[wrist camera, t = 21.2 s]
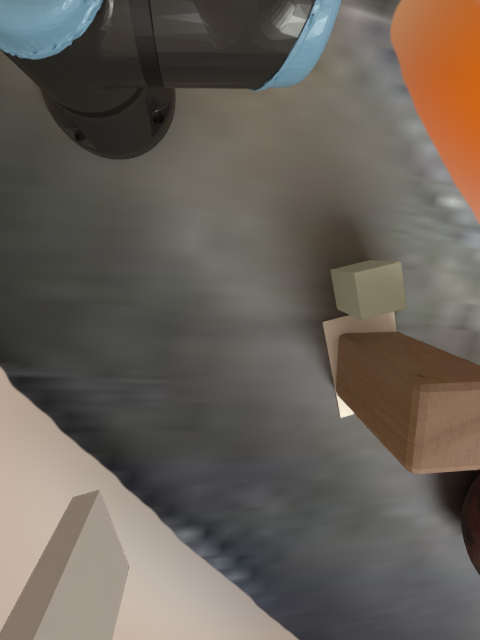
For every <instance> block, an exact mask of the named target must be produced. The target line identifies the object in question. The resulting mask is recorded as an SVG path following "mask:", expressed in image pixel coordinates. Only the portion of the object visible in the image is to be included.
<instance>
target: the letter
mask: <svg viewBox="0 0 480 640" xmlns="http://www.w3.org/2000/svg"><path fill="white" fill-rule="evenodd" d="M322 323H323V328H324V333H325V339H326V344H327V350H328V355H329V360H330V366H331V371H332V376H333V382H334V387H335V392H336V378H337V360H338V342H339V337H340V335H342V334H345V333H369V332H397V330H396V322H395V315H394V312H391V313H387V314H383V315H379V316H375V317H371V318H367V319H363V320H361V319H358V318H356V317H354V316H351V315H347V316H343V317H339V318H335V319H331V320H328V321H324V322H322ZM336 398H337V403H338V409H339V414H340V417H345V416H349V415H352V414H354V412H353V411H352V410H351V409H350V408H349V407H348V406H347V405H346V404H345V403H344V402H343V401H342V399H341V398H340V397H339V396H338V395H337V393H336Z"/></svg>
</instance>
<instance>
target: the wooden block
mask: <svg viewBox="0 0 480 640" xmlns="http://www.w3.org/2000/svg"><path fill="white" fill-rule="evenodd" d="M336 393H337V395H338V396H339V397H340V398H341V399H342V401H343V402H344V403H345V404H346V405H347V406H348V407H349V408H350V409H351V410H352V411H353V412H354V414H355V415H356V416H357V417H358V418H359V419H360V420H361V421H362V422H363V423H364V424H365V425H366V426H367V428H368V429H369V430H370V431H371V432H372V433H373V434H374V435H375V436H376V437H377V438H378V439H379V440H380V442H381V443H382V444H383V445H384V446H385V447H386V448H387V449H388V450H389V451H390V452H391V453H392V454H393V456H394V457H395V458H396V459H397V460H398V461H399V462H400V463H401V464H402V465H403V466H404V467H405V469H406V470H408V471H410V472H412V473H415V474H427V473H440V472H453V471H466V470H479V469H480V366H479V365H477V364H474V363H472V362H469V361H467V360H464V359H462V358H460V357H457V356H455V355H452V354H450V353H448V352H445V351H443V350H440V349H438V348H435V347H433V346H431V345H428V344H426V343H423V342H421V341H419V340H416V339H414V338H411V337H409V336H406V335H404V334H402V333H399V332H369V333H345V334H342V335H340V337H339V342H338V360H337V378H336Z"/></svg>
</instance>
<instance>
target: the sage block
mask: <svg viewBox="0 0 480 640" xmlns="http://www.w3.org/2000/svg"><path fill="white" fill-rule="evenodd" d="M330 271H331V277H332V282H333V288H334V294H335V300H336V305H337V309H338V310H340V311H342V312H344V313H347V314H349V315H351V316H354V317H356V318H358V319H361V320H363V319H367V318H371V317H375V316H379V315H383V314H387V313H391V312H394V311H398V310H402V309H406V308H407V307H406V299H405V291H404V283H403V275H402V268H401V262H400V261H379V260H368V261H364V262H360V263H356V264H352V265H348V266H344V267H340V268H336V269H332V270H330Z"/></svg>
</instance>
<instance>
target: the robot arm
mask: <svg viewBox="0 0 480 640" xmlns="http://www.w3.org/2000/svg"><path fill="white" fill-rule="evenodd" d="M340 4H341V0H0V50H1V51H2V52H3V53H4V54H5V55H7V56H8V57H9V58H10V59H11V60H12V61H13V62H14V63H15V64H16V65H17V66H18V67H19V68H20V69H21V70H22V71H23V72H24V73H25V74H27V75H28V76H29V77H30V78H31V79H32V80H33V81H34V82H35V83H36V84H37V85H38V86H39V87H40V88H41V91H42V94H43V97H44V100H45V103H46V105H47V108H48V110H49V112H50V113H51V115H52V117H53V118H54V120H55V121H56V123H57V124H58V126H59V127H60V128H61V129H62V130H63V131H64V132H65V133H66V134H67V135H68V136H69V137H70V138H71V139H72V140H73V141H75V142H76V143H77V144H78V145H79V146H81V147H82V148H84V149H85V150H87V151H89V152H91V153H93V154H95V155H98V156H101V157H104V158H109V159H129V158H134V157H137V156H140V155H142V154H144V153H146V152H148V151H149V150H151V149H152V148H153V147H155V146H156V145H157V144H158V143H159V142H160V141H161V140H162V138H163V137H164V135H165V134H166V132H167V131H168V129H169V127H170V124H171V122H172V119H173V115H174V110H175V88H228V89H249V90H251V91H259V90H264V89H266V88H276V87H290V86H292V85H295V84H297V83H299V82H300V81H302V80H303V79H304V78H305V77H306V76H307V75H308V74H309V73H310V72H311V70H312V69H313V68H314V66H315V65H316V63H317V62H318V60H319V58H320V56H321V54H322V52H323V50H324V48H325V46H326V44H327V41H328V39H329V37H330V34H331V31H332V29H333V26H334V23H335V20H336V17H337V14H338V11H339V8H340ZM128 570H129V564H128V562H127V559H126V556H125V554H124V551H123V549H122V546H121V544H120V541H119V539H118V536H117V534H116V531H115V528H114V526H113V523H112V521H111V518H110V515H109V513H108V510H107V508H106V505H105V502H104V500H103V498H102V495H101V492H100V490H97V491H94V492H90V493H87V494H83V495H79V496H76V497H73V498H72V500H71V502H70V503H69V505H68V508H67V509H66V511H65V513H64V515H63V517H62V518H61V520H60V522H59V524H58V526H57V528H56V530H55V531H54V533H53V535H52V537H51V539H50V541H49V543H48V545H47V546H46V548H45V550H44V552H43V554H42V556H41V558H40V559H39V561H38V563H37V565H36V567H35V569H34V570H33V573H32V574H31V576H30V578H29V580H28V582H27V583H26V585H25V587H24V589H23V591H22V593H21V595H20V597H19V598H18V600H17V602H16V604H15V606H14V608H13V610H12V611H11V613H10V615H9V617H8V619H7V621H6V623H5V624H4V626H3V628H2V630H1V632H0V640H112V636H113V633H114V628H115V624H116V620H117V616H118V612H119V607H120V603H121V599H122V594H123V591H124V587H125V583H126V578H127V574H128Z"/></svg>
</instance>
